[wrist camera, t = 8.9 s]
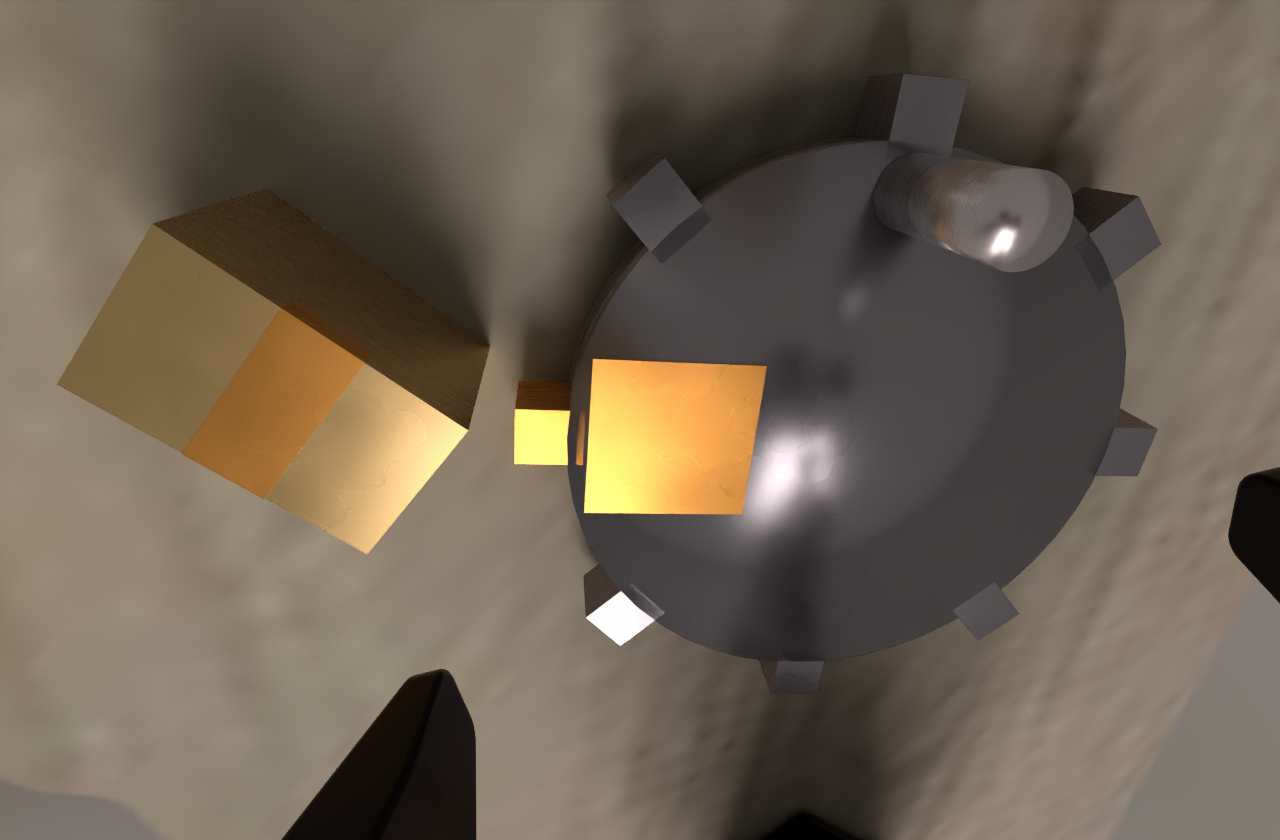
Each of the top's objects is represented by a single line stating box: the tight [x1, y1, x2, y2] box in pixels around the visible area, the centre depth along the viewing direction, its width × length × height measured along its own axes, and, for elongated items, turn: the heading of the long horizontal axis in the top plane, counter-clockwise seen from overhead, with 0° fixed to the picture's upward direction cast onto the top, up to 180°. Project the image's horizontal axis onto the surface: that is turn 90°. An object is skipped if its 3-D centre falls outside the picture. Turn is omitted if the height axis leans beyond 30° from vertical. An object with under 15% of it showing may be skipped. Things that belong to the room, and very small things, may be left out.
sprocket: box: [515, 74, 1161, 694], centre depth 16 cm, size 16×16×6 cm
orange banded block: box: [57, 188, 490, 554], centre depth 15 cm, size 6×4×5 cm, turn 49°
